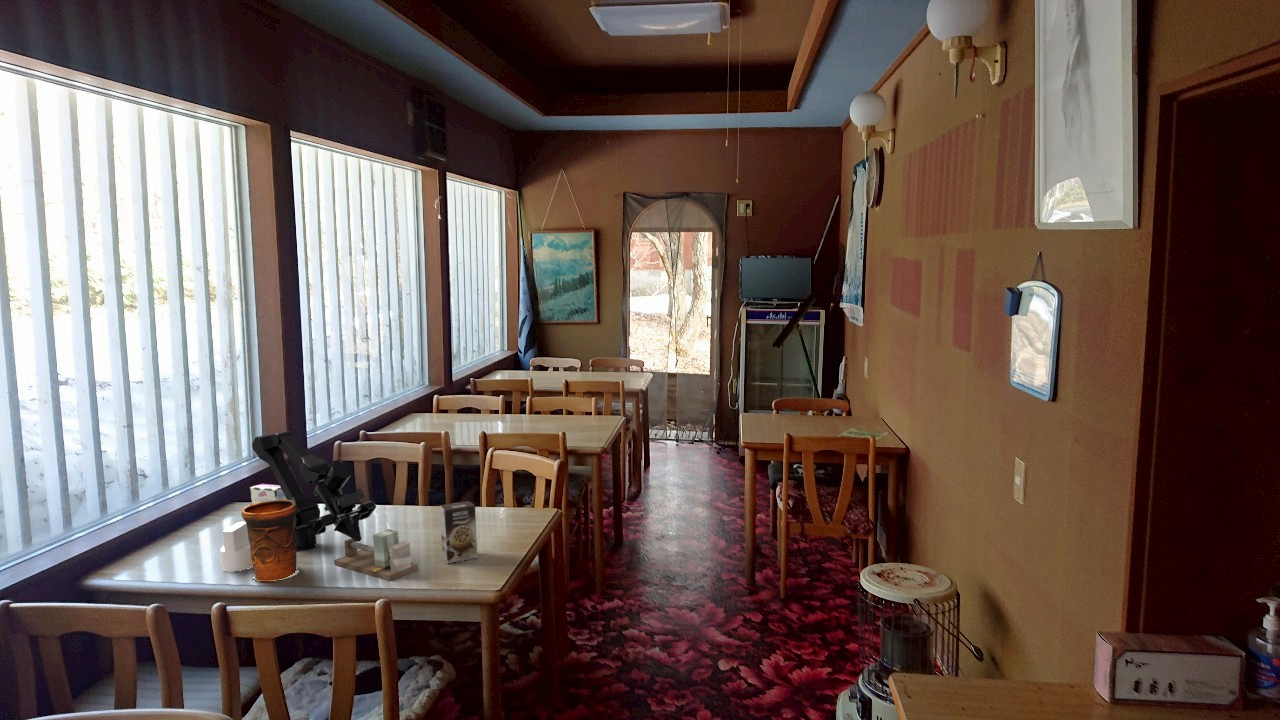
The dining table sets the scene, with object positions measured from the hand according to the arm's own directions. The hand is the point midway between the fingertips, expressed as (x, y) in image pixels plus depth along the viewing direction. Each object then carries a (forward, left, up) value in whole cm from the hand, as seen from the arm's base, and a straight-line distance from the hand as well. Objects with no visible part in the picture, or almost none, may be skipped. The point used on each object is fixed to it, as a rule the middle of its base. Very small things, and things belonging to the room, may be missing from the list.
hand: (359, 540), depth 235 cm
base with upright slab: (-32, +16, -7) cm, 36 cm away
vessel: (-23, +4, -7) cm, 24 cm away
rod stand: (+3, -6, -7) cm, 9 cm away
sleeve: (+6, -10, -5) cm, 13 cm away
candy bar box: (-22, +41, -7) cm, 47 cm away
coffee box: (+26, -11, -7) cm, 29 cm away
